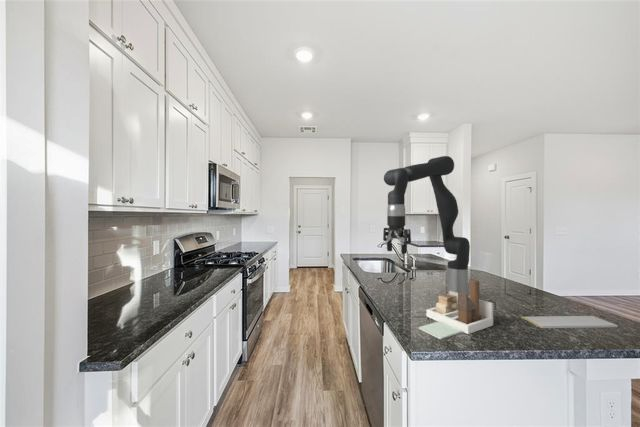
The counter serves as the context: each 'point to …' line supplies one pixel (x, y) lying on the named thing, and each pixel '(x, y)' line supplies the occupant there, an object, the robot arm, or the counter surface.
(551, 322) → the baseboard
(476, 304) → the wooden block
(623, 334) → the counter surface
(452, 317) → the offcut rack
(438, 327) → the sage mat
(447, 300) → the offcut stack
